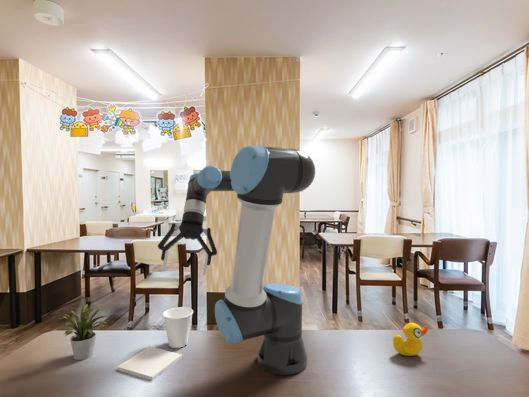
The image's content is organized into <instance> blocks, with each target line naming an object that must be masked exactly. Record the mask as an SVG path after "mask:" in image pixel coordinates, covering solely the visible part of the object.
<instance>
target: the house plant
mask: <svg viewBox="0 0 529 397" xmlns="http://www.w3.org/2000/svg"><path fill="white" fill-rule="evenodd" d="M88 306H89V304H88V303H86V304H85V305H83V303H81V307H80V318H79V316H78V314H77V313H76V312H75V311H74V310H72V309H70V311H69V312H68V313H71V314H72V316H73V317H74V319H75V320H74V319H73V318H72V317H70V315H68V314H64V316H61V317H60V318H59V320H60V319H62V318H63V319H66V320H67V321H68V322H66V323H65V325H66V326H67V327H71V328H73V330H70V329H69V330H68V329H67V330H65V332H64V334H63V336H64V337H66V336H68V335H71V334H74V335H72V336H71V337H70V338H69V339H70V344H71V348H72V353H73V359H74V360H77V361H83V360H84V361H85V360H87V359H90V358H91V357H92V356H93V355H94V349H95V345H96V344H95V343H96V338H97V333H96V332H95V331H94V329H95V328H98V327H106V325H105V324H106V321H100V319H102V318H105V317H106V315H101V314H103V313H104V311H101V312H99V311H100V310H101V309H102V308H103V307H104V305H102V306H100V307H99V308H97V309H96V310H95V311H94V312H93V313H92V315H91V316H90V314H91V312H92V310H94V307H95V306H96V304H93V305H92V307H91V308H90V309H89V308H88ZM106 312H108V311H107V310H106V311H105V313H106ZM89 316H90V317H89ZM110 316H111V315H107V317H110ZM98 320H99V321H98Z"/></svg>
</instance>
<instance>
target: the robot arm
mask: <svg viewBox="0 0 529 397" xmlns="http://www.w3.org/2000/svg"><path fill="white" fill-rule="evenodd" d="M315 176H316V166H315V163H314V160H313V159H312V158H311V156H310V155H308V154H307V153H306V152H304V151H302V150H299V149H297V148H288V147H287V148H286V147H285V148H284V147H276V146H274V147H273V146H266V145H246V146H244V147H242V148H241V149H239V151H238V152H237V153H236V154H235V157H234V158H233V160H232V163H231V168H230V170H220V169H219V168H218V167H217V166H214V165H207V166H205V167H204V168H203V169H201V170H200V171H199V172H197V173H196V172H195V173H193V174H191V175H190V176H189V179H188V183H187V189H186V190H187V191H186V196H185V201H184V206H183V213H182V217H181V218H182V219H181V223H180V225H179V224H176V223H172V224H171V226H170V229H169V230H168V231H167V233H166V234H165V236H164V237H162V239H161V240H160V242H159V243H158V244H157V248H158V250H161V251H162V252H161V257H160V259H161V261H163V263H162V269H161V270H162V272H166V268H167V263H168V259H169V258H168V257H169V253H170V252H169V250H170V249H171V248H172V247H173V246H175V245H176V244H177V243H178V242H179V241H181V240H182V239H183V238H184V239H185V240H193V241H194V240H196V241H197V242H198V244H200V246H201V247H202V249H203V250H204V252H205V253H206V254H205V259H204V267H203V272H202V273H203V274H202V276H206V273H207V267H208V266H210V265H211V262H212V257H213V256H216V255H218V251H217V250H218V249H217V247H216V245H215V242H214V239H213V237H212V233H211V232H212V231H211V230H212V229H211V227H207V228H203V225H204V218H205V217H204V215H205V210H206V204H207V198H208V195H209V194H210V193H211V192H235V193H236V199H238V202H240V203H241V206H240V207H241V208H240V209H241V210H240V217H239V224H238V231H237V232H238V233H237V240H236V246H235V247H236V248H235V256H234V263H233V272H232V278H231V285H229V286H227V288H226V289H225V291H224V296H223V298H224V299H219V300H218V301H216V303H215V305H214V317H215V322H216V325H217V328H218V331H219V334H220V336H221V337H222V339H223V340H224V341H225V342H226V343H228V344H234V343H235V344H236V343H242V342H244V341H247V340H251V339H255V338H257V337H258V338H259V337H261V336H262V341H261V343H260V345H259V349H258V352H257V364H258V366H259V367H260V368H261V369H262V370H264V371H265V372H267V373H269V374H274V375H279V376H288V375H296V374H298V373H301V372H303V370H304V369H306V368H307V366H308V352H307V350H306V349H307V348H306V346H305V342H304V340H303V334H302V333H303V296H302V292H301V290H300V289H299V288H297V287H295V286H293V285H289V284H285V283H278V282H277V283H274V282H273V283H267V284H265V285H264V282H265V281H264V280H265V274H266V270H267V269H266V268H267V263H268V256H269V250H270V249H269V248H270V243H271V242H270V241H271V236H272V229H273V225H274V224H273V223H274V219H275V217H274V216H275V212H276V211H275V210H276V209H277V207H279V206H281V205H282V203H283V198H284V194H295V193H301V192H303V191H305V190H307V189H308V188H309V187H310V186H311V185H312V183H313V182H314V179H315ZM178 230H179V233H178V234H177V235H176V236H175V237H174V238H173V239H171V237H172V236H173V234H174V233H175V232H177V231H178ZM203 233H204V235H205V236H206V237H207V241H208V243H209V246H210V248H209V247H208V245H207V243H205V240H204V239H203V236H201V235H202V234H203ZM170 239H171V240H170ZM169 240H170V241H169ZM168 241H169V242H168ZM167 242H168V243H167Z"/></svg>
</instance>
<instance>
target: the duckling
mask: <svg viewBox="0 0 529 397" xmlns="http://www.w3.org/2000/svg"><path fill="white" fill-rule="evenodd" d="M428 331H429V330H428V326H427V325H424V327H421V326H420V325H419V324H417V323H415V322H409V323H407V324H405V325H404V326H403V328H402V332H403V334H404V336H405V337H406V339H403V337H402V336H401V335H400V334H396V335H395V336H394V337H393V339H392V344H393V345H392V346H393V349H394V350H395V351H396V352H397V353H398V354H399V355H403V356H406V357H413V356H418V355H419V353H420V352H421V351H422V350H423V345H424V344H423V342H422V341H421V337H423V336H425V335H426V334H427V333H428Z"/></svg>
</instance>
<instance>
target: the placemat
mask: <svg viewBox="0 0 529 397" xmlns="http://www.w3.org/2000/svg"><path fill="white" fill-rule="evenodd" d="M182 358H183V354H181V353H177V352H172V351H168V350H166V349H162V348H157V347H154V346H148V347H146V348H145V349H143V350H141V351H139V353H137V354H135V355H133V356H132V357H130V358H129V359H127V360H126V361H124V362H123V363H121V364H119V365H118V366H116V370H117V371H119V372H122V373H126V374H129V375H133V376H135V377H140V378H142V379H146V380H150V381H154V380H155V379H157V378H158V377H159V376H160V375H162V374H163V373H164V372H166V371H167V370H168V369H169V368H171V367H172V366H173V365H175V364H176V363H177V362H178V361H180V360H182Z"/></svg>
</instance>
